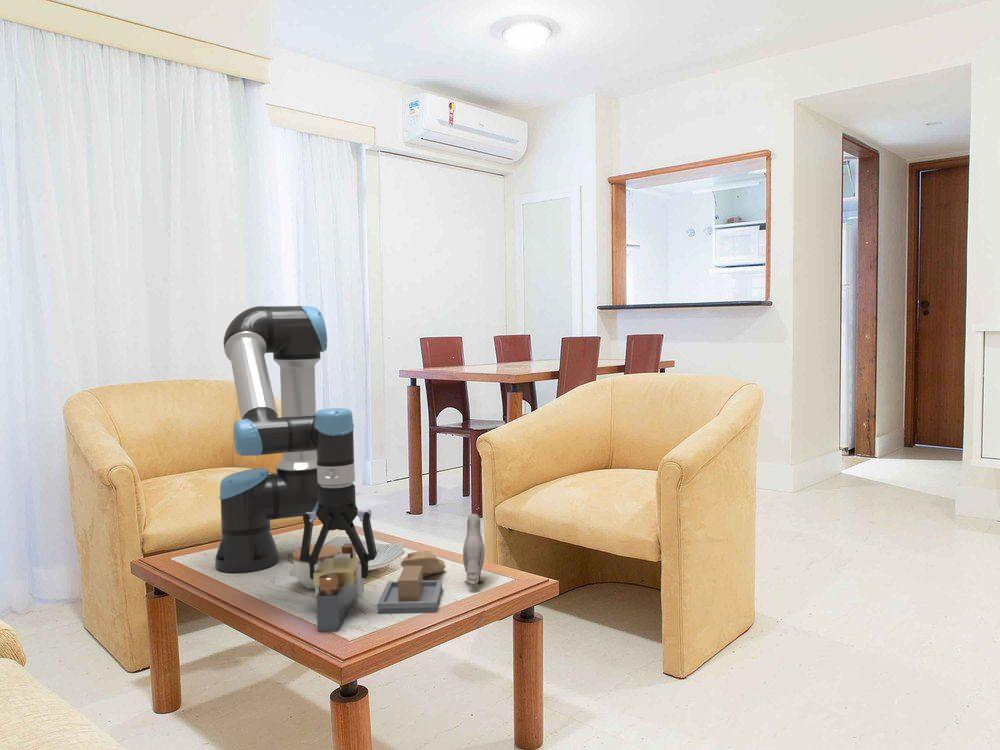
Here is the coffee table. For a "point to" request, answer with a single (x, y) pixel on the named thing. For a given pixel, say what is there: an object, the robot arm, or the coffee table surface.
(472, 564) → the bird
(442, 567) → the pottery oil lamp
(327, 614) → the plane
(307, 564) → the lidded jar
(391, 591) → the tray
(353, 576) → the lever cap
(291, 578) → the coffee table surface
